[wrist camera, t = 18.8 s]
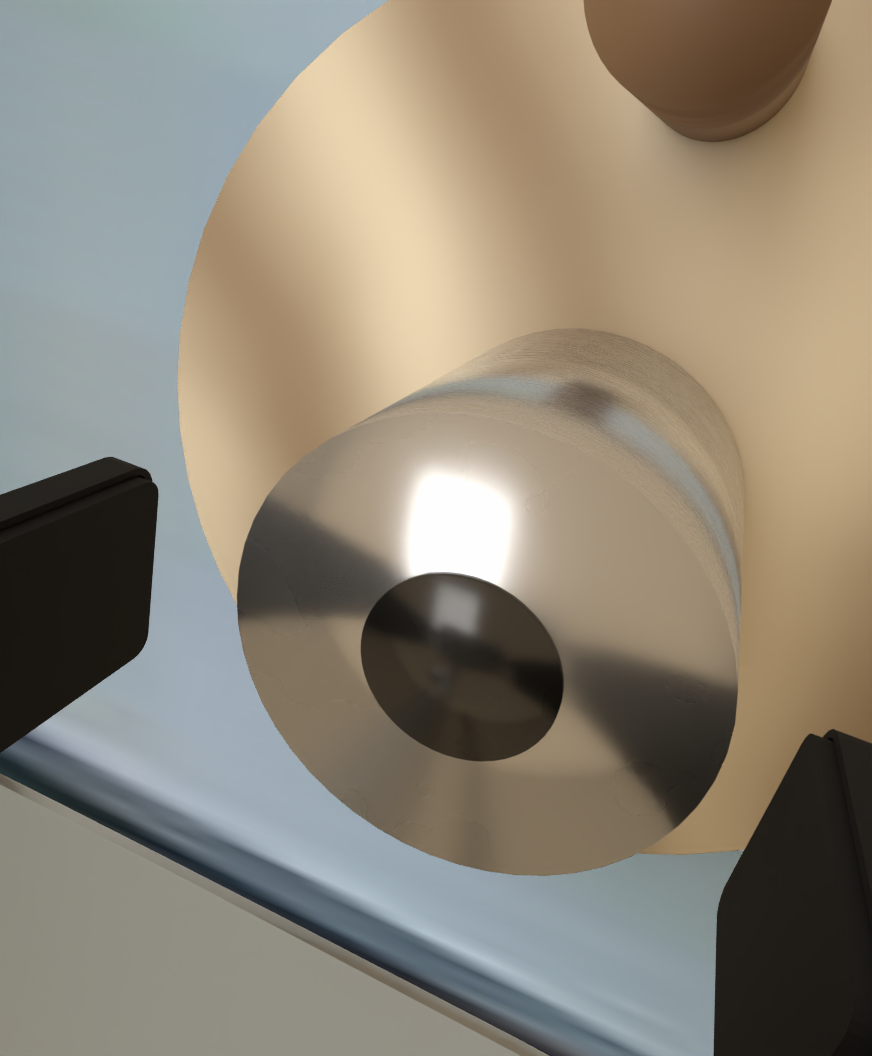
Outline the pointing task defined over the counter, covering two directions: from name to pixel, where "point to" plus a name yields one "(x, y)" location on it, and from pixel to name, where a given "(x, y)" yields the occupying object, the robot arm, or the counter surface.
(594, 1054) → the counter surface
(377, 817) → the silver rounded piece
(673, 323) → the turntable
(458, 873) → the counter surface
